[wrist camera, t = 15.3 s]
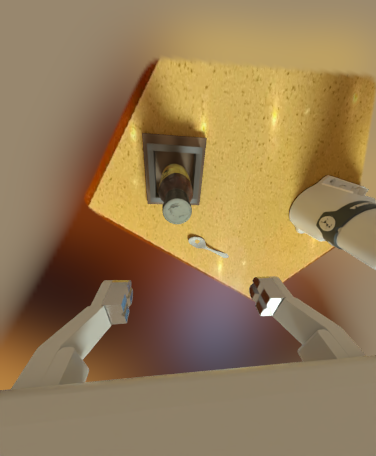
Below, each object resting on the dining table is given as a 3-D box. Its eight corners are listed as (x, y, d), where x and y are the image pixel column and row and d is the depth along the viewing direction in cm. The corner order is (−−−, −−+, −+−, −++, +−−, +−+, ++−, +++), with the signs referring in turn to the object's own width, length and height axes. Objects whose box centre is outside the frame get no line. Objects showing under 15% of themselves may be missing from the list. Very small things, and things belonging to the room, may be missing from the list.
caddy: (205, 138, 34) (210, 137, 30) (198, 203, 42) (201, 210, 38) (143, 133, 33) (139, 132, 29) (148, 202, 41) (145, 209, 37)
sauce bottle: (163, 160, 35) (156, 179, 18) (189, 165, 36) (206, 189, 19) (160, 187, 38) (151, 226, 21) (184, 191, 39) (194, 232, 22)
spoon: (192, 231, 48) (192, 234, 46) (237, 255, 55) (239, 258, 54) (185, 240, 49) (185, 243, 48) (230, 263, 57) (231, 266, 55)
